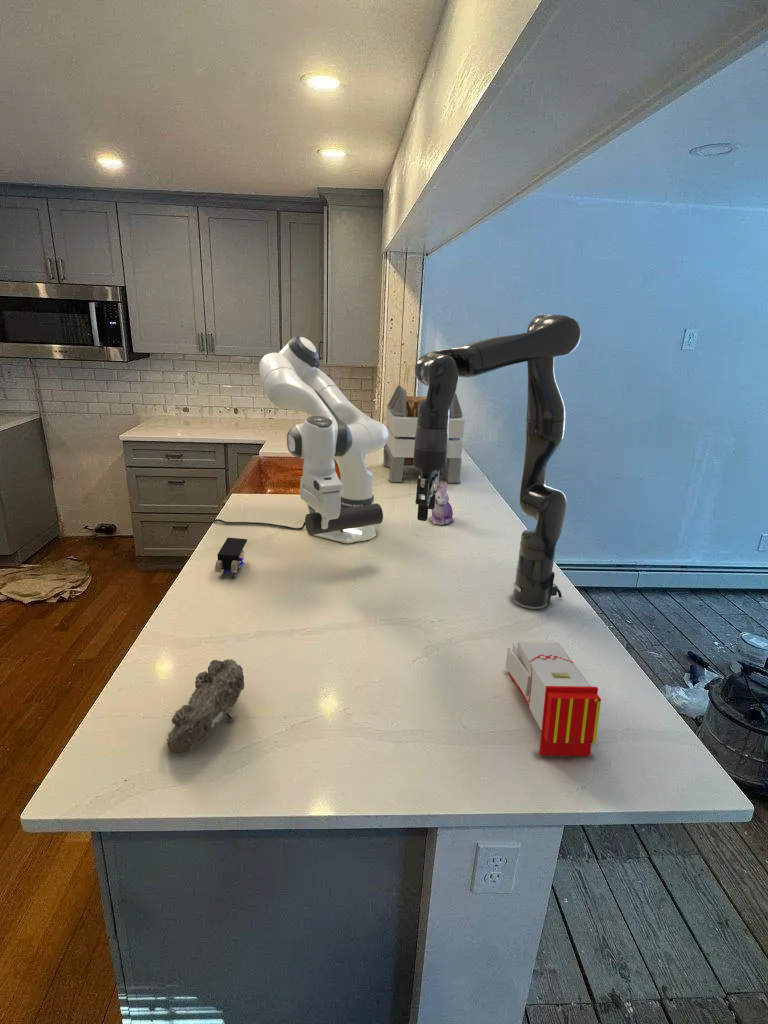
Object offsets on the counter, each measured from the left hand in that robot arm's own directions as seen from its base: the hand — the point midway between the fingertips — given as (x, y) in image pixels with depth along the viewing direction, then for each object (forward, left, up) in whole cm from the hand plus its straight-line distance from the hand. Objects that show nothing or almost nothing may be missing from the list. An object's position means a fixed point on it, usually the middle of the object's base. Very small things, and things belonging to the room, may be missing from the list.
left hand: (318, 523), depth 160 cm
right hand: (+34, -17, +13) cm, 40 cm away
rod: (+6, +6, -3) cm, 9 cm away
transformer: (+3, +121, -17) cm, 122 cm away
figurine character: (-25, -5, -17) cm, 31 cm away
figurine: (+26, +59, -17) cm, 67 cm away
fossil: (+4, -63, -17) cm, 65 cm away
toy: (+65, -39, -17) cm, 77 cm away
